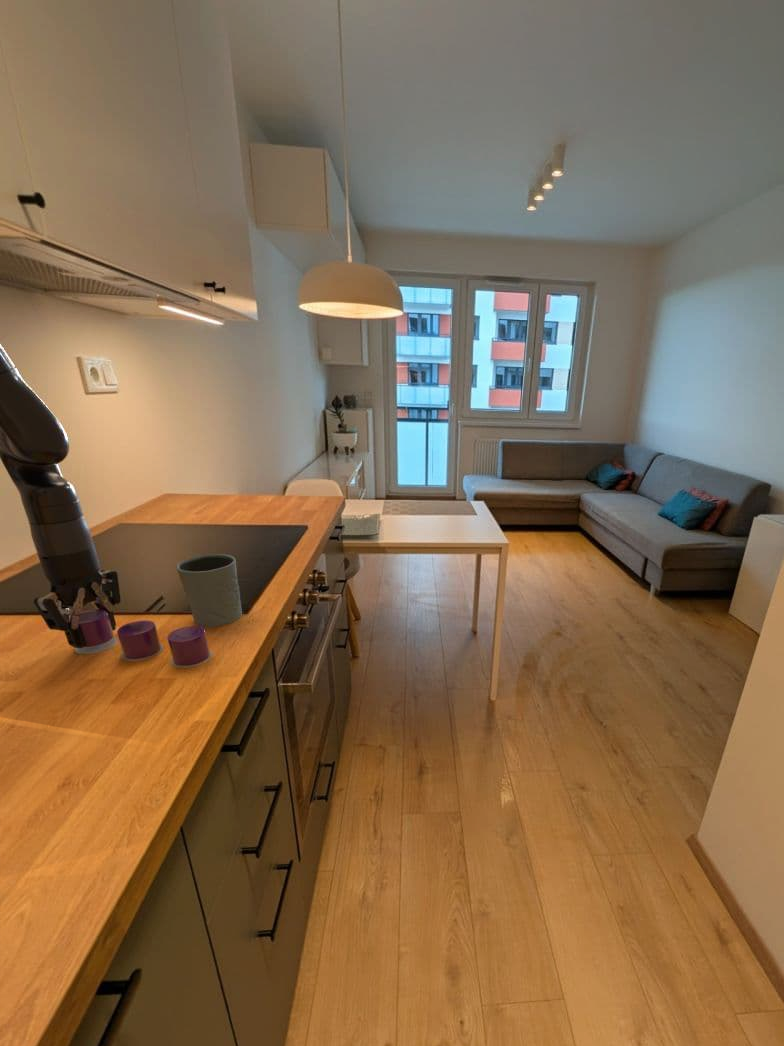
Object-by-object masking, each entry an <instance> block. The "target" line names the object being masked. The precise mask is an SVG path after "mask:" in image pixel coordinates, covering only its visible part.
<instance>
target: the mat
mask: <svg viewBox="0 0 784 1046" xmlns="http://www.w3.org/2000/svg"><path fill="white" fill-rule="evenodd" d="M118 640H119V639H118V638H116V637H115V636H114V637H113V638H112V639H111V640H109V641H108V642H106V643H103V644H100V645H97V646H91V647H83V648H74V647H73V651H74V653H76V654H78V655H92V654H97V653H100V652H104V651H106V650H110V649H111V648H113V647H114V646H115V645H117V643H118ZM160 645H161V649H160V650H159V651H158V652H157V653H155V654H153V655H151V656H149V657H145V658H140V659H128V658H126V657H124V654H123V651H122V652H121V654H120V657H121V659H122V660H124V661H127V662H128V661H129V662H136V661H137V662H138V661H143V660H147V659H150V658H153V657H155V656H157V655H159V654H160V653H162V651H163V650H164V644H163V643H161V642H160ZM209 652H210V655H209V657H208V658H207V659H206V660H204V661H202V662H200V663H197V664H194V665H189V666H180V665H176V664H175V663H174V662H173V659H172V657H171V658H170V659H169V664H170V666H172V667H175V668H179V669H181V668H182V669H184V668H185V669H187V668H192V667H196V666H200V665H201V664H204V663H205V662H207V661H209V660H210V659H211V658H212V655H213V652H212V651H211V650H210V649H209Z"/></svg>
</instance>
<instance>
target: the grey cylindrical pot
mask: <svg viewBox="0 0 784 1046" xmlns="http://www.w3.org/2000/svg"><path fill="white" fill-rule="evenodd" d="M176 571H177V574H178V577H179V580H180V581H181V584H182V587H183V590H184V592H185V596H186V599H187V602H188V604H189V607H190V608H191V610H190V612H191V615H192V618H193V620H194V623H195V624H196V626H199V627H202V628H215V627H222V626H226V625H230V624H232V623H234V622H236V621H238V620H239V619H241V618H242V616H243V611H242V610H243V609H242V601H241V593H240V586H239V581H238V569H237V561H236V558H235V557H234V556H232V555H230V554H224V553H213V554H204V555H203V554H202V555H198V556H193V557H189V558H187V559H185V560H182V561H181V562H179V563H178V564H177V566H176Z"/></svg>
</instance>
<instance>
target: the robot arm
mask: <svg viewBox="0 0 784 1046" xmlns="http://www.w3.org/2000/svg"><path fill="white" fill-rule="evenodd" d="M69 451H70V442H69V437H68V434H67V432H66V431H65V428H64V427H63V425H62V423H61V422H60V420H59V419H58V418H57V416H56V415H55V414H54V412H52V411H51V409H50V408H49V407H48V406H47V404H46V403H45V402H44V401H43V400H42V399H41V398H40V396H39V395H38V394H37V393H36V392H35V391H34V390H33V388H32V387H30V386H29V385H28V383H27V382H26V381H25V380H24V378H23V377H22V376H21V374H20V372H19V370H18V369H17V366H16V365H15V363H14V362H13V361H12V359H11V357H10V356H9V354H8V353H7V351H6V350H5V348H4V346H2V344H1V343H0V461H1V463H2V464H3V466H4V468H5V470H6V472H7V474H8V475H9V478H10V479H11V481H12V483H13V484H14V486H15V487H16V489H17V491H18V493H19V496H20V501H21V503H22V507H23V509H24V512H25V516H26V519H27V521H28V525H29V529H30V536H31V539H32V542H33V545H34V548H35V551H36V554H37V557H38V559H39V562H40V565H41V568H42V571H43V574H44V577H45V578H46V579H47V580H48V581H49V583H50V588H49V589H50V590H49V593H48V594H46V595H44V596H43V597H35V598H34V600H33V604H34V605H35V608H36V609H37V611H38V612H39V615H40V616H41V617H42V619H43V621H44V622H45V624H46V626H47V628H48V629H49V630H53V631H54V630H55V631H60V632H64V634H65V637H66V640H67V643H68V645H69V646H70V647H72V648H73V649H74V648H83V647H85V646H86V643H85V640H84V637H83V634H82V631H81V628H80V627H78V625H79V616H80V615H81V614H82V612H83V607H85V606H86V605H88V603H91V604H92V606H93V607H94V608H95V609H100V610H105V611H107V613H108V616H109V620H110V623H111V627H112V630H113V632H114V631H116V626H117V623H116V618H115V615H114V611H113V610H114V607H115V605H118V604H120V603H121V602H122V601H121V591H120V585H119V583H120V582H119V576H118V572H117V571H116V570H107V569H102V570H100V569H101V563H100V560H99V557H98V554H97V551H96V547H95V544H94V540H93V537H92V534H91V533H92V532H91V530H90V527H89V525H88V523H87V521H86V519H85V517H84V513H83V510H82V506H81V502H80V499H79V496H78V493H77V490H76V488H75V487H74V485H73V484H72V482H70V481H69V480H68V479H67V478H65V477H64V475H63V473H62V472H61V469H60V467H59V464H60V463H61V462H63V461H64V460H65V459H66V458H67V456H68V455H69ZM69 607H71V608H72V609H71V608H69ZM69 618H70V621H69Z"/></svg>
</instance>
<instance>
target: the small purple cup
mask: <svg viewBox="0 0 784 1046" xmlns="http://www.w3.org/2000/svg"><path fill="white" fill-rule="evenodd" d="M116 633H117V637H118V640H119V644H120V648H121V651H122V652H123V654H124V657H126V658H128V659H140V658H145V657H149V656H151V655H153V654H155V653H157V652H158V651H159V650H160V649H161V645H160V643H161V642H160V637H159V633H158V629H157V626H156V623H155V622H154V621H153V620H146V619H145V620H137V621H136V620H135V621H132V622H129V623H126V624H124V625H122V626H120V627H119V628H118V629H117V630H116Z"/></svg>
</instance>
